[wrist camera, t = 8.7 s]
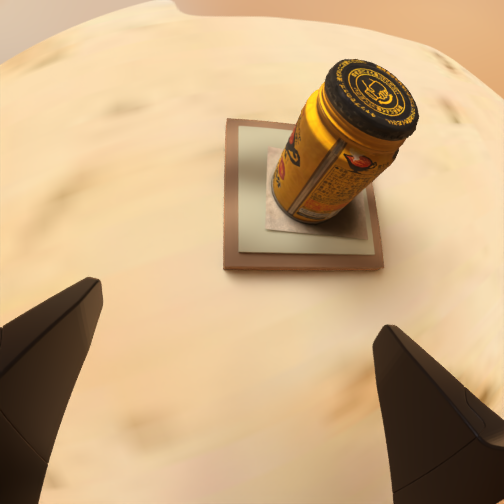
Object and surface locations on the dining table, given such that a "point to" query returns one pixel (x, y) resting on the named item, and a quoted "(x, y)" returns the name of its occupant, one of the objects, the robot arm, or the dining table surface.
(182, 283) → the dining table surface
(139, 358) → the dining table surface
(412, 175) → the dining table surface
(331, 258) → the plinth
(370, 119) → the condiment
